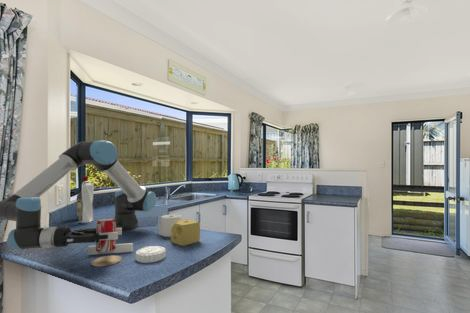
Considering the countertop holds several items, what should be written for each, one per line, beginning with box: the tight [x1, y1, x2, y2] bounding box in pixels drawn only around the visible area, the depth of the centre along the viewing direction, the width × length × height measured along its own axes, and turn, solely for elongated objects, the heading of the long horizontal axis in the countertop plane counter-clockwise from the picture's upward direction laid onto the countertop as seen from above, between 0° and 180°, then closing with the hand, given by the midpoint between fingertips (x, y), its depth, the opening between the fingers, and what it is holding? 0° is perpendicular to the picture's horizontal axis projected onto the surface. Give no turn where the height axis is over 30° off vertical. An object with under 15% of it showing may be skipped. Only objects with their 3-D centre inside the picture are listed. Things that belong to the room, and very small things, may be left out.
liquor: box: [76, 176, 94, 220], centre depth 195 cm, size 9×9×30 cm
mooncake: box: [135, 245, 167, 264], centre depth 112 cm, size 12×12×4 cm
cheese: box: [170, 219, 201, 247], centre depth 134 cm, size 10×11×10 cm
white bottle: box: [78, 180, 95, 223], centre depth 182 cm, size 8×8×28 cm
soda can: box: [95, 217, 117, 255], centre depth 108 cm, size 7×7×13 cm
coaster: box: [91, 254, 122, 268], centre depth 108 cm, size 11×11×1 cm
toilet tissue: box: [158, 213, 182, 238], centre depth 148 cm, size 11×12×10 cm
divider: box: [88, 242, 134, 256], centre depth 119 cm, size 18×1×4 cm, turn 101°
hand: (119, 233), depth 109 cm, fingers closed on soda can, 6 cm apart
